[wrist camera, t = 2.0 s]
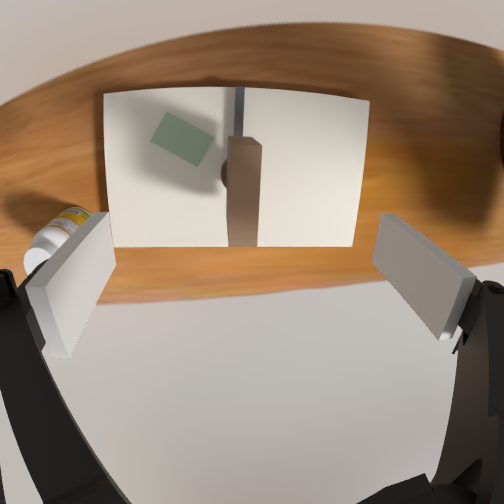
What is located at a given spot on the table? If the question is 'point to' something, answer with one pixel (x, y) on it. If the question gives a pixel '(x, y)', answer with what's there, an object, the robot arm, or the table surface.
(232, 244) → the brown handled block
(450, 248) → the table surface
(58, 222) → the supplement bottle
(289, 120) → the dial board
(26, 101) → the table surface
